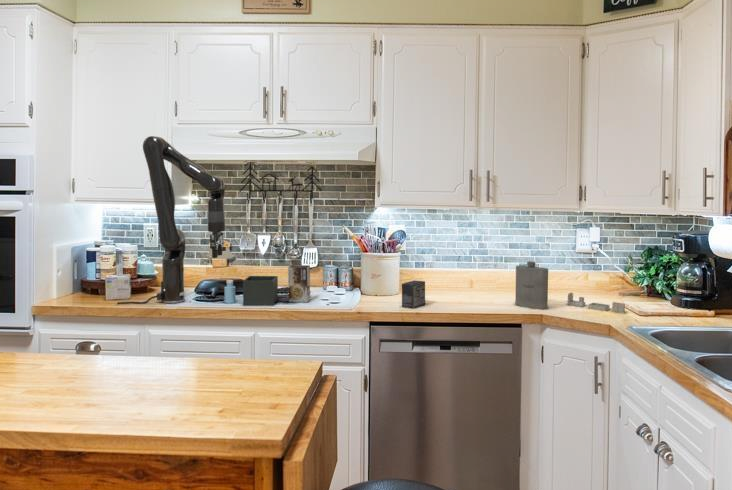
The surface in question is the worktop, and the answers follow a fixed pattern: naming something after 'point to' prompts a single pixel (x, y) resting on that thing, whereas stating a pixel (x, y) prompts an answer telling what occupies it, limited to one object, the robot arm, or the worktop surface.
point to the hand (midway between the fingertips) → (217, 256)
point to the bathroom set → (596, 305)
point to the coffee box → (299, 283)
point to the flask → (531, 286)
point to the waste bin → (260, 290)
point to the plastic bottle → (229, 292)
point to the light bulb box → (118, 286)
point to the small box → (413, 294)
